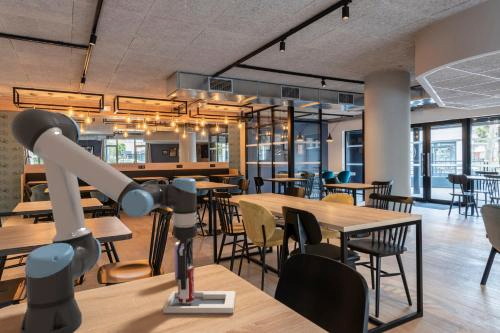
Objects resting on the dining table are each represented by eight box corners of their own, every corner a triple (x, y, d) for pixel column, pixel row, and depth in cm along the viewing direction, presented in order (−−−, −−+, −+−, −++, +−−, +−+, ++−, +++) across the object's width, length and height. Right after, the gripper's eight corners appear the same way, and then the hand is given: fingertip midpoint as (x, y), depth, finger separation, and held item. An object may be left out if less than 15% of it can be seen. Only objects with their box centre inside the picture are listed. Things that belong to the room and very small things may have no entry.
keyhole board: (163, 314, 100) (163, 307, 100) (173, 297, 112) (172, 291, 112) (233, 314, 99) (233, 307, 99) (235, 297, 111) (235, 291, 111)
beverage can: (182, 284, 122) (182, 246, 122) (171, 281, 126) (171, 243, 125) (193, 279, 127) (192, 242, 127) (182, 276, 131) (182, 240, 130)
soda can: (190, 305, 102) (190, 268, 102) (175, 303, 103) (175, 267, 103) (196, 298, 107) (196, 263, 107) (182, 296, 108) (181, 262, 108)
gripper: (191, 231, 95) (192, 307, 96) (201, 219, 113) (201, 283, 114) (166, 231, 95) (167, 307, 96) (180, 219, 114) (181, 283, 114)
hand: (186, 294), depth 105 cm, fingers closed on soda can, 5 cm apart
